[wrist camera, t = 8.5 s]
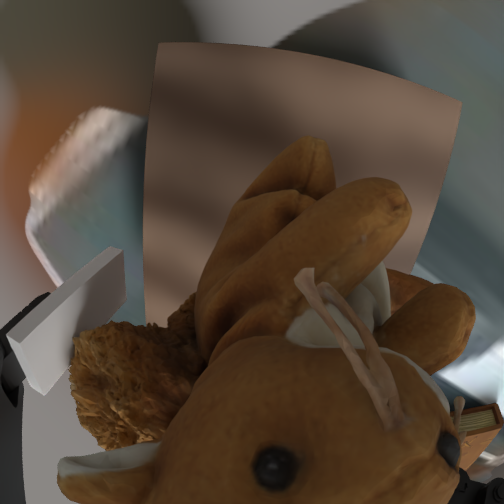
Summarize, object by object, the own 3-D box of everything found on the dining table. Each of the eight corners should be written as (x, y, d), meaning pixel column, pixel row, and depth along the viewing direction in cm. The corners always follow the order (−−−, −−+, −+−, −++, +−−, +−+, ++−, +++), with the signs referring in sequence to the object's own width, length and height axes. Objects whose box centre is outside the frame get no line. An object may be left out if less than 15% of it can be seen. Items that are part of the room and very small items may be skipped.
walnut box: (203, 58, 22) (158, 42, 15) (422, 102, 20) (462, 102, 13) (180, 282, 33) (146, 328, 26) (351, 325, 31) (354, 382, 24)
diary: (450, 463, 42) (453, 485, 37) (367, 474, 47) (366, 498, 42) (496, 400, 32) (505, 427, 27) (391, 416, 37) (394, 448, 32)
